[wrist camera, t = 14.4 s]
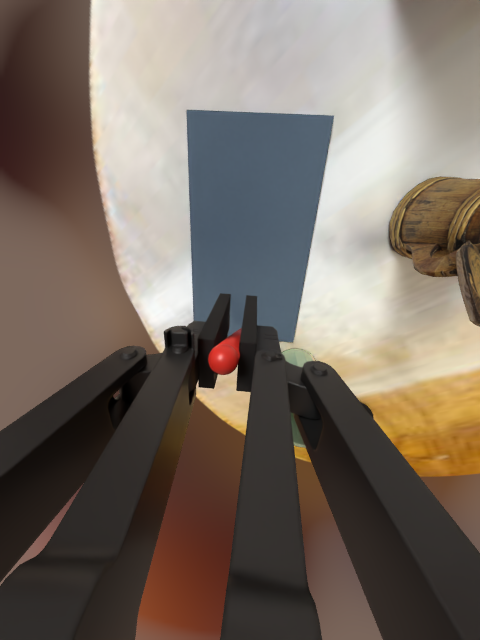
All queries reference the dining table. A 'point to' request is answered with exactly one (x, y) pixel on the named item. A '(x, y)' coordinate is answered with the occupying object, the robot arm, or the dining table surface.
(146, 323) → the dining table surface
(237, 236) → the placemat
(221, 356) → the red rod
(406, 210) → the wooden mug
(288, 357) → the tumbler
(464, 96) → the dining table surface
